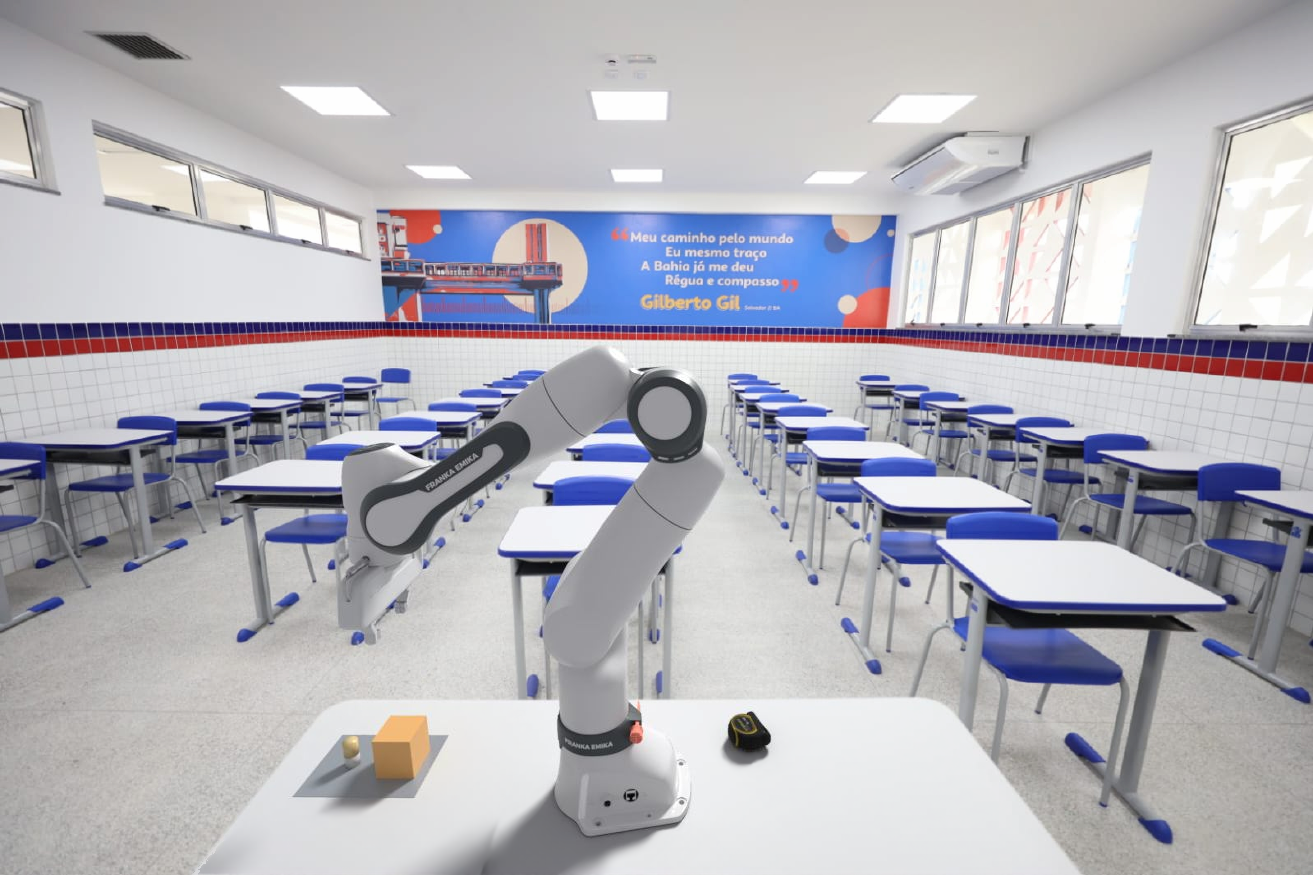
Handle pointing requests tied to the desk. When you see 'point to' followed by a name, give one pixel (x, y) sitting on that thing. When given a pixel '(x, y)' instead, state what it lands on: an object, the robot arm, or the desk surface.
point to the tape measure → (748, 732)
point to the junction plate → (362, 772)
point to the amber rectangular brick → (401, 747)
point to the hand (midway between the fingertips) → (388, 625)
